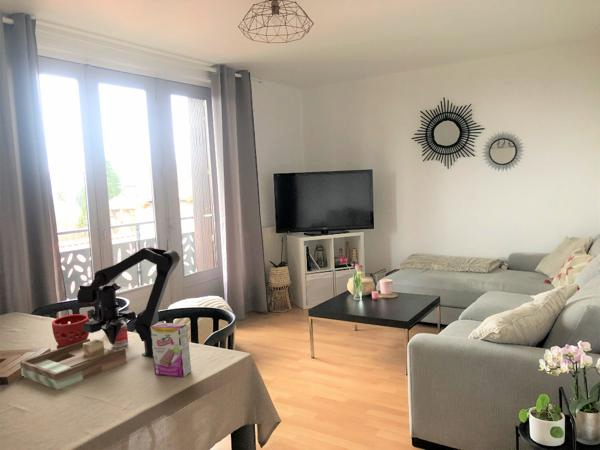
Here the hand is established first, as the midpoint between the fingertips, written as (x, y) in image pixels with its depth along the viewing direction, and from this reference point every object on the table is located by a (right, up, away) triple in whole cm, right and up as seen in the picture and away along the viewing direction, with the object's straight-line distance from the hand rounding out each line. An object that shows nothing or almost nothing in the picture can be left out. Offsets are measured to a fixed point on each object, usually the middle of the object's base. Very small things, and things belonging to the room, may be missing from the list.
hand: (112, 343), depth 183 cm
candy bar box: (+28, -5, -21) cm, 35 cm away
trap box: (-9, -6, -12) cm, 16 cm away
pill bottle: (-1, -3, +11) cm, 11 cm away
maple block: (-4, -2, -6) cm, 8 cm away
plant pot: (-19, -5, +10) cm, 22 cm away
